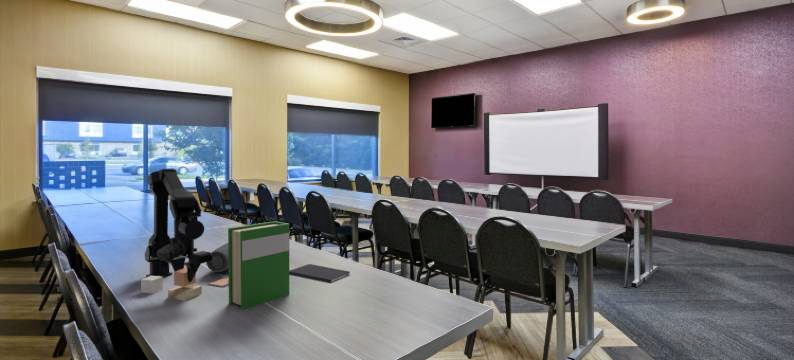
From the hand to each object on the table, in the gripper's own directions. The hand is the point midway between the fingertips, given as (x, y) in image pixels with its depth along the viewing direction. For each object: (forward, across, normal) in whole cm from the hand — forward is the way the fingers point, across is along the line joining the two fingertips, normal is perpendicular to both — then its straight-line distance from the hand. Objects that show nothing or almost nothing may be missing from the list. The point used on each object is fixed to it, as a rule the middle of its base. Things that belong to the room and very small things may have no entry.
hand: (184, 280), depth 138 cm
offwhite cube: (+5, -14, -1) cm, 15 cm away
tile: (+5, +1, +15) cm, 16 cm away
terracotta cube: (+1, 0, 0) cm, 1 cm away
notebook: (+6, +26, +40) cm, 48 cm away
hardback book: (+5, +24, +8) cm, 26 cm away
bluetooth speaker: (+5, -12, +32) cm, 35 cm away
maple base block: (+5, 0, 0) cm, 5 cm away
